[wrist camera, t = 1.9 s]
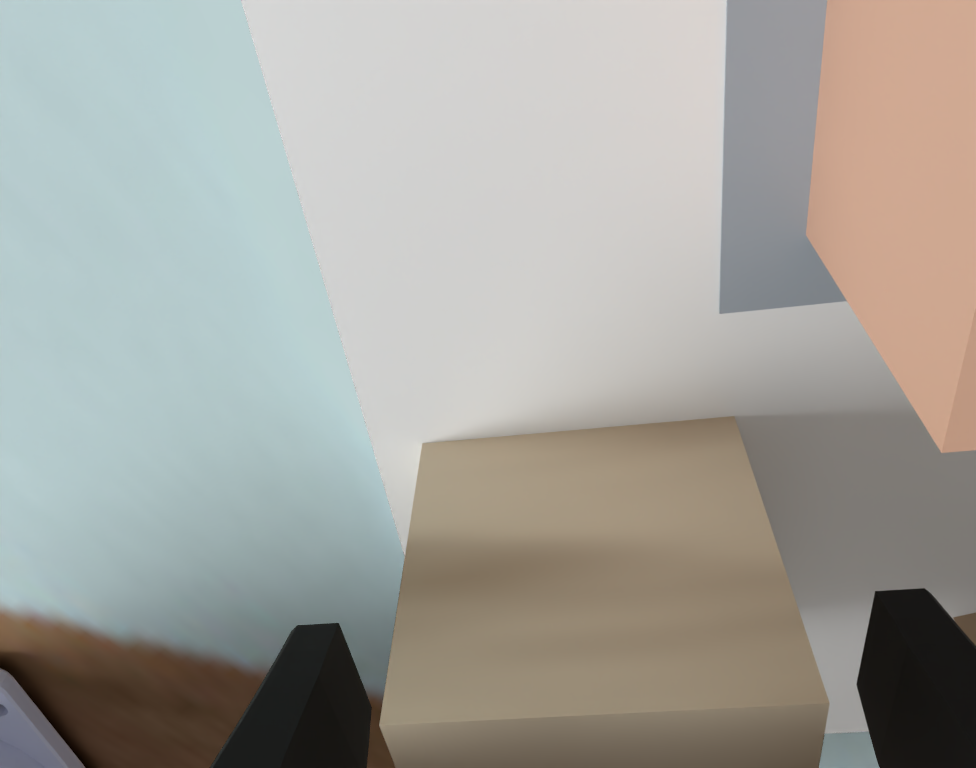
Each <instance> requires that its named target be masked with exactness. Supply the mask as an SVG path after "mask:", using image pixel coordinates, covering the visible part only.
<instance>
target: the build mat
mask: <svg viewBox="0 0 976 768" xmlns="http://www.w3.org/2000/svg"><path fill="white" fill-rule="evenodd" d="M241 2H242V5H243V8H244V12H245V15H246V19H247V22H248V25H249V29H250V32H251V36H252V39H253V42H254V46H255V49H256V53H257V56H258V59H259V63H260V66H261V70H262V73H263V76H264V80H265V83H266V87H267V90H268V94H269V97H270V100H271V104H272V107H273V111H274V114H275V117H276V121H277V124H278V128H279V131H280V134H281V138H282V141H283V145H284V148H285V151H286V155H287V158H288V162H289V165H290V168H291V172H292V175H293V179H294V182H295V185H296V189H297V192H298V196H299V199H300V202H301V206H302V209H303V213H304V216H305V219H306V223H307V226H308V230H309V233H310V236H311V240H312V243H313V247H314V250H315V253H316V257H317V260H318V264H319V267H320V270H321V274H322V277H323V281H324V284H325V287H326V291H327V294H328V298H329V301H330V304H331V308H332V311H333V315H334V318H335V321H336V325H337V328H338V332H339V335H340V338H341V342H342V345H343V349H344V352H345V355H346V359H347V362H348V366H349V369H350V372H351V376H352V379H353V383H354V386H355V389H356V393H357V396H358V400H359V403H360V406H361V410H362V413H363V417H364V420H365V423H366V427H367V430H368V434H369V437H370V440H371V444H372V447H373V451H374V454H375V457H376V461H377V464H378V468H379V471H380V474H381V478H382V481H383V485H384V488H385V491H386V495H387V498H388V502H389V505H390V508H391V512H392V515H393V519H394V522H395V525H396V529H397V532H398V536H399V539H400V542H401V546H402V549H403V553H404V556H405V553H406V547H407V540H408V534H409V527H410V520H411V514H412V507H413V501H414V494H415V488H416V481H417V474H418V468H419V461H420V455H421V448H422V443H433V442H445V441H456V440H467V439H479V438H490V437H502V436H513V435H524V434H536V433H547V432H559V431H570V430H581V429H593V428H604V427H616V426H627V425H638V424H650V423H661V422H673V421H684V420H695V419H707V418H718V417H730V416H734V417H735V420H736V423H737V426H738V429H739V432H740V435H741V438H742V441H743V444H744V447H745V450H746V453H747V456H748V459H749V462H750V465H751V468H752V471H753V474H754V477H755V480H756V483H757V486H758V489H759V492H760V495H761V498H762V501H763V504H764V507H765V510H766V513H767V516H768V519H769V522H770V525H771V528H772V531H773V534H774V537H775V540H776V543H777V546H778V549H779V552H780V555H781V558H782V561H783V564H784V567H785V570H786V573H787V576H788V579H789V582H790V585H791V588H792V591H793V594H794V597H795V600H796V603H797V606H798V609H799V612H800V615H801V618H802V621H803V624H804V627H805V630H806V633H807V636H808V640H809V643H810V646H811V649H812V652H813V655H814V658H815V661H816V664H817V667H818V670H819V673H820V676H821V679H822V682H823V685H824V688H825V691H826V694H827V697H828V700H829V703H830V704H829V710H828V716H827V722H826V728H825V733H824V734H829V733H851V732H869V730H868V726H867V722H866V719H865V715H864V711H863V707H862V704H861V700H860V696H859V692H858V689H857V685H856V683H857V678H858V674H859V669H860V664H861V659H862V654H863V649H864V644H865V639H866V634H867V629H868V624H869V619H870V614H871V609H872V604H873V599H874V594H875V591H886V590H902V589H919V588H925V589H926V590H927V591H929V592H930V593H931V594H932V595H933V596H934V597H935V598H936V600H937V601H938V602H939V603H940V604H941V606H942V607H943V608H944V609H945V610H946V611H947V613H948V614H949V615H950V616H951V617H952V619H953V620H954V618H953V617H957V616H962V615H967V614H972V613H976V450H972V451H960V452H948V453H941V451H940V450H939V448H938V447H937V445H936V443H935V442H934V440H933V439H932V437H931V435H930V434H929V432H928V431H927V429H926V427H925V426H924V424H923V422H922V421H921V419H920V418H919V416H918V414H917V413H916V411H915V410H914V408H913V406H912V405H911V403H910V402H909V400H908V398H907V397H906V395H905V394H904V392H903V390H902V389H901V387H900V385H899V384H898V382H897V381H896V379H895V377H894V376H893V374H892V373H891V371H890V369H889V368H888V366H887V365H886V363H885V361H884V360H883V358H882V357H881V355H880V353H879V352H878V350H877V349H876V347H875V345H874V344H873V342H872V340H871V339H870V337H869V336H868V334H867V332H866V331H865V329H864V328H863V326H862V324H861V323H860V321H859V320H858V318H857V316H856V315H855V313H854V312H853V310H852V308H851V307H850V305H849V303H848V302H847V300H846V299H845V297H844V295H843V294H842V292H841V291H840V289H839V287H838V286H837V284H836V283H835V281H834V279H833V278H832V276H831V275H830V273H829V271H828V270H827V268H826V266H825V265H824V263H823V262H822V260H821V258H820V257H819V255H818V254H817V252H816V250H815V249H814V247H813V246H812V244H811V242H810V241H809V239H808V238H807V236H806V228H807V217H808V206H809V195H810V184H811V173H812V162H813V151H814V140H815V129H816V118H817V107H818V96H819V85H820V74H821V63H822V52H823V41H824V30H825V19H826V8H827V0H241Z"/></svg>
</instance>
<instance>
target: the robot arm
mask: <svg viewBox="0 0 976 768" xmlns="http://www.w3.org/2000/svg"><path fill="white" fill-rule="evenodd" d="M856 685H857V689H858V692H859V696H860V700H861V704H862V707H863V711H864V715H865V719H866V722H867V726H868V730H869V733H870V737H871V740H872V744H873V747H874V751H875V754H876V758H877V761H878V764H879V767H880V768H976V645H975V644H974V643H973V642H972V641H971V640H970V638H969V637H968V636H967V635H966V634H965V633H964V631H963V630H962V629H961V628H960V627H959V626H958V624H957V623H956V622H955V621H954V620H953V619H952V617H951V616H950V615H949V614H948V613H947V611H946V610H945V609H944V608H943V607H942V606H941V604H940V603H939V602H938V601H937V600H936V598H935V597H934V596H933V595H932V594H931V593H930V592H929V591H927V590H926V589H925V588H919V589H902V590H886V591H875V594H874V599H873V604H872V609H871V614H870V619H869V624H868V629H867V634H866V639H865V644H864V649H863V654H862V659H861V664H860V669H859V674H858V678H857V683H856ZM371 708H372V707H371V704H370V702H369V699H368V697H367V694H366V691H365V689H364V686H363V684H362V681H361V679H360V676H359V674H358V671H357V668H356V666H355V663H354V661H353V658H352V656H351V653H350V651H349V648H348V645H347V643H346V640H345V638H344V635H343V633H342V630H341V627H340V625H339V623H331V624H314V625H297V626H296V627H295V628H294V629H293V630H292V631H291V633H290V635H289V637H288V638H287V640H286V642H285V644H284V645H283V647H282V649H281V651H280V653H279V654H278V656H277V658H276V660H275V661H274V663H273V665H272V666H271V668H270V670H269V672H268V673H267V675H266V677H265V679H264V680H263V682H262V684H261V685H260V687H259V689H258V691H257V692H256V694H255V696H254V697H253V699H252V701H251V702H250V704H249V706H248V707H247V709H246V711H245V712H244V714H243V716H242V717H241V719H240V720H239V722H238V724H237V725H236V727H235V729H234V730H233V732H232V733H231V735H230V736H229V738H228V740H227V741H226V743H225V744H224V746H223V747H222V749H221V751H220V752H219V754H218V755H217V757H216V759H215V760H214V762H213V763H212V765H211V766H210V768H367V757H368V747H369V734H370V721H371ZM0 768H86V767H85V766H84V765H83V764H82V762H81V761H80V760H79V759H78V757H77V756H76V755H75V754H74V752H73V751H72V750H71V749H70V747H69V746H68V745H67V744H66V742H65V741H64V740H63V739H62V737H61V736H60V735H59V734H58V732H57V731H56V730H55V729H54V727H53V726H52V725H51V724H50V722H49V721H48V720H47V719H46V717H45V716H44V715H43V714H42V712H41V711H40V710H39V709H38V707H37V706H36V705H35V704H34V702H33V701H32V700H31V699H30V697H29V696H28V695H27V694H26V692H25V691H24V690H23V689H22V687H21V686H20V685H19V684H18V682H17V681H16V680H15V679H14V677H13V676H12V675H11V674H9V673H8V672H7V671H5V670H3V669H1V668H0Z"/></svg>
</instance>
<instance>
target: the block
mask: <svg viewBox="0 0 976 768" xmlns="http://www.w3.org/2000/svg"><path fill="white" fill-rule="evenodd" d="M953 618H954V621H955V622H956V623H957V624H958V626H959V627H960V628H961V629H962V630H963V631H964V633H965V634H966V635H967V636H968V637H969V638H970V640H971V641H972V642H973V643H974V644H975V645H976V613H972V614H967V615H962V616H957V617H953Z"/></svg>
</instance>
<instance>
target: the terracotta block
mask: <svg viewBox="0 0 976 768" xmlns="http://www.w3.org/2000/svg"><path fill="white" fill-rule="evenodd" d="M806 236H807V238H808V239H809V241H810V242H811V244H812V246H813V247H814V249H815V250H816V252H817V254H818V255H819V257H820V258H821V260H822V262H823V263H824V265H825V266H826V268H827V270H828V271H829V273H830V275H831V276H832V278H833V279H834V281H835V283H836V284H837V286H838V287H839V289H840V291H841V292H842V294H843V295H844V297H845V299H846V300H847V302H848V303H849V305H850V307H851V308H852V310H853V312H854V313H855V315H856V316H857V318H858V320H859V321H860V323H861V324H862V326H863V328H864V329H865V331H866V332H867V334H868V336H869V337H870V339H871V340H872V342H873V344H874V345H875V347H876V349H877V350H878V352H879V353H880V355H881V357H882V358H883V360H884V361H885V363H886V365H887V366H888V368H889V369H890V371H891V373H892V374H893V376H894V377H895V379H896V381H897V382H898V384H899V385H900V387H901V389H902V390H903V392H904V394H905V395H906V397H907V398H908V400H909V402H910V403H911V405H912V406H913V408H914V410H915V411H916V413H917V414H918V416H919V418H920V419H921V421H922V422H923V424H924V426H925V427H926V429H927V431H928V432H929V434H930V435H931V437H932V439H933V440H934V442H935V443H936V445H937V447H938V448H939V450H940V451H941V453H948V452H960V451H972V450H976V0H827V8H826V19H825V30H824V41H823V52H822V63H821V74H820V85H819V96H818V107H817V118H816V129H815V140H814V151H813V162H812V173H811V184H810V195H809V206H808V217H807V228H806Z"/></svg>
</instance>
